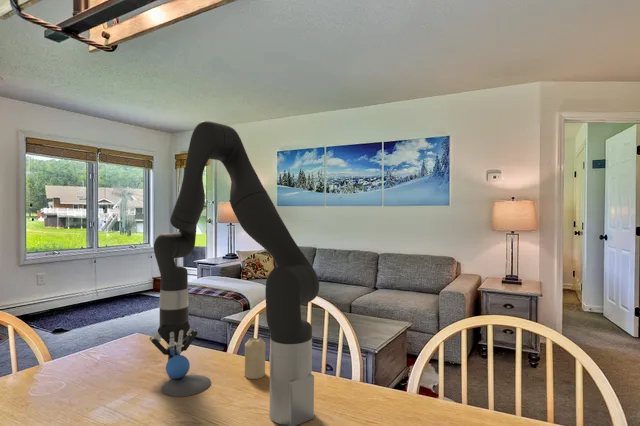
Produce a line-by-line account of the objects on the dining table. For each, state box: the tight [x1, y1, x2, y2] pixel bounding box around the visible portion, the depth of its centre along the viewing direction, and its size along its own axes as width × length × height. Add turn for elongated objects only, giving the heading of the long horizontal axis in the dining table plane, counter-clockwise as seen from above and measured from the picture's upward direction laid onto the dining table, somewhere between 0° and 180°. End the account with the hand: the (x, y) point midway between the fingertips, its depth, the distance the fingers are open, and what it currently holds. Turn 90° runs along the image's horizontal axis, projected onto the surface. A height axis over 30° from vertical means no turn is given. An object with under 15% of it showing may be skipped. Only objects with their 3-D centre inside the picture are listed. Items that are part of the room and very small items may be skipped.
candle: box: [244, 337, 266, 380], centre depth 108 cm, size 6×6×10 cm
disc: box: [161, 374, 212, 398], centre depth 101 cm, size 12×12×1 cm
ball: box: [165, 354, 191, 379], centre depth 106 cm, size 6×6×6 cm
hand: (174, 367), depth 109 cm, fingers closed
